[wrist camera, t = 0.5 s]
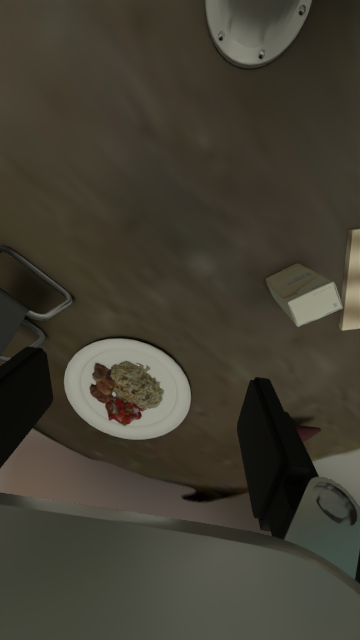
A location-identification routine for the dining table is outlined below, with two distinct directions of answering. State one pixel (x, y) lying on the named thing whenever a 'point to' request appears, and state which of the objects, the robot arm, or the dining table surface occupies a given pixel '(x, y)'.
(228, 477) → the dining table surface
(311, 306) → the skincare box
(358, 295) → the socket stand
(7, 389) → the robot arm
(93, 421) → the plated food
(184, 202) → the dining table surface
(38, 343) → the chair
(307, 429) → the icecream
